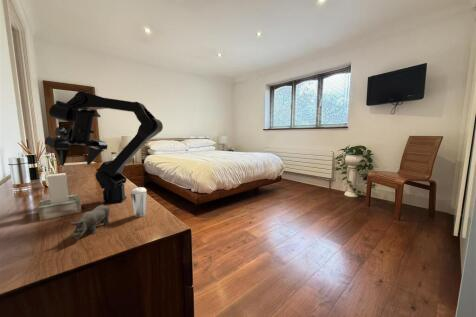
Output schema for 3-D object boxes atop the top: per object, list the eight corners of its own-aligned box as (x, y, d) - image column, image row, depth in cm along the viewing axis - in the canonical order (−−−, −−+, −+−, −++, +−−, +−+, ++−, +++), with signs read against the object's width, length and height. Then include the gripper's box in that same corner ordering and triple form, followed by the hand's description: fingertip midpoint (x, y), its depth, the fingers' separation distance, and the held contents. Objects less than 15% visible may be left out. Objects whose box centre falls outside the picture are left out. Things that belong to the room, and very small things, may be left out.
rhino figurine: (61, 246, 46) (58, 222, 45) (100, 221, 59) (99, 202, 59) (79, 246, 46) (77, 221, 45) (114, 221, 59) (112, 202, 59)
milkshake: (133, 212, 65) (131, 183, 64) (150, 212, 66) (148, 183, 65) (127, 218, 61) (124, 187, 60) (144, 217, 61) (142, 186, 60)
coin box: (78, 204, 74) (77, 194, 74) (81, 211, 67) (80, 200, 66) (41, 211, 67) (40, 200, 67) (39, 220, 60) (38, 207, 60)
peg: (69, 208, 70) (65, 172, 69) (70, 211, 67) (66, 174, 65) (51, 211, 67) (47, 174, 65) (52, 215, 64) (47, 176, 62)
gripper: (93, 124, 85) (86, 158, 87) (38, 116, 67) (31, 159, 69) (111, 130, 82) (104, 166, 84) (58, 123, 64) (51, 169, 66)
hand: (75, 165), depth 76 cm, fingers open, 9 cm apart
